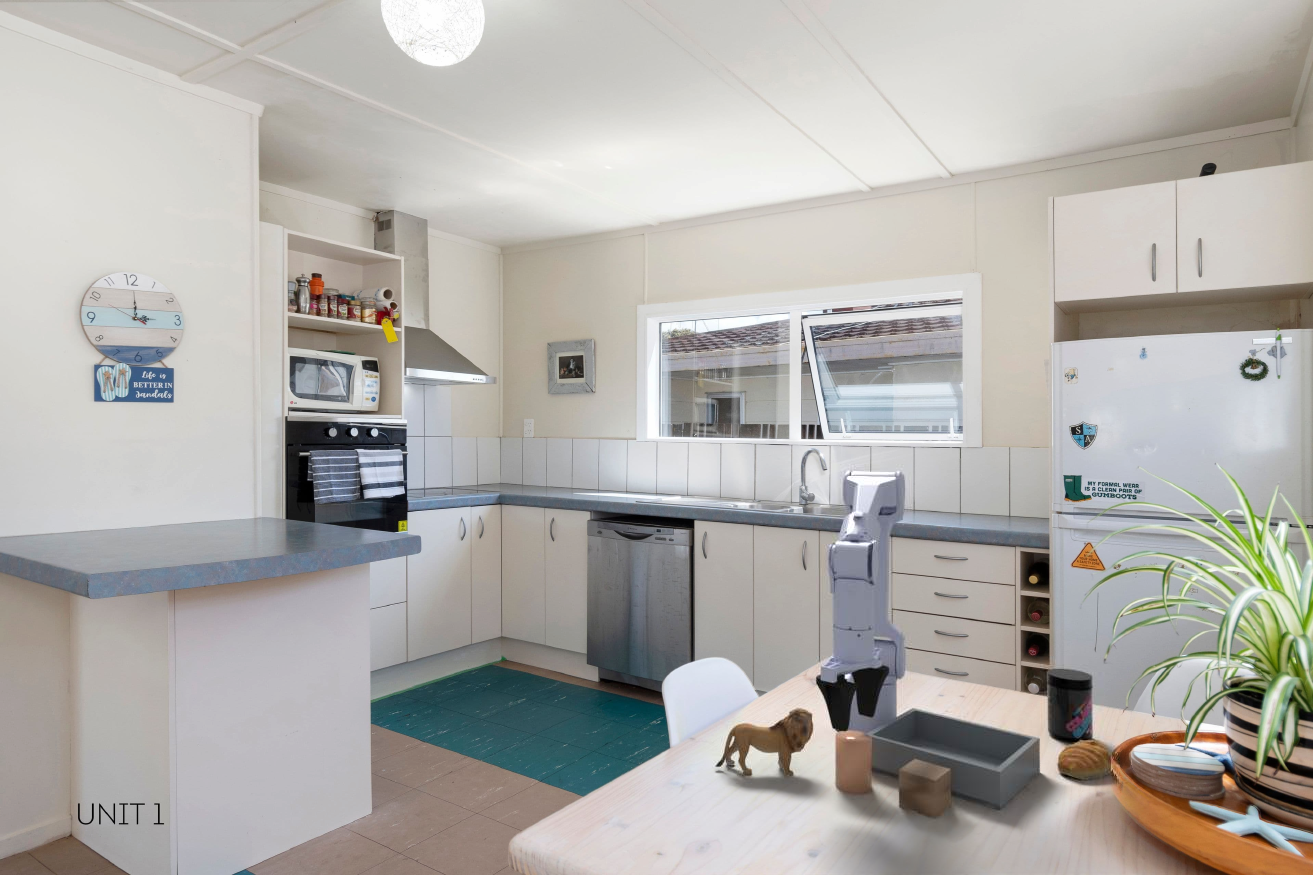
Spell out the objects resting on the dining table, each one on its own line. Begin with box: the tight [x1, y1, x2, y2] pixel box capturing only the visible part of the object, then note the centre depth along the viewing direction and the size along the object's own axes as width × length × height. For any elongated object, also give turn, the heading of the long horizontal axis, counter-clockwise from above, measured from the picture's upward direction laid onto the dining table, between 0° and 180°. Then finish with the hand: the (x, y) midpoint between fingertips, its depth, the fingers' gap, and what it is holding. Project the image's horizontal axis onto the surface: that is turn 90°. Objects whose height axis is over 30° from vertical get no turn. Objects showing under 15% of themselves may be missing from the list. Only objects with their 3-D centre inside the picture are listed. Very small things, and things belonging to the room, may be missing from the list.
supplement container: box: [1046, 668, 1094, 744], centre depth 129 cm, size 7×7×10 cm
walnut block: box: [898, 759, 952, 820], centre depth 103 cm, size 5×5×5 cm
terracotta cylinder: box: [834, 730, 873, 795], centre depth 109 cm, size 5×5×7 cm
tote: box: [867, 707, 1041, 811], centre depth 115 cm, size 20×17×5 cm
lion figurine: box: [715, 707, 814, 777], centre depth 115 cm, size 15×5×9 cm, turn 93°
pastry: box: [1057, 739, 1113, 781], centre depth 115 cm, size 9×7×4 cm
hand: (853, 722), depth 109 cm, fingers open, 7 cm apart
